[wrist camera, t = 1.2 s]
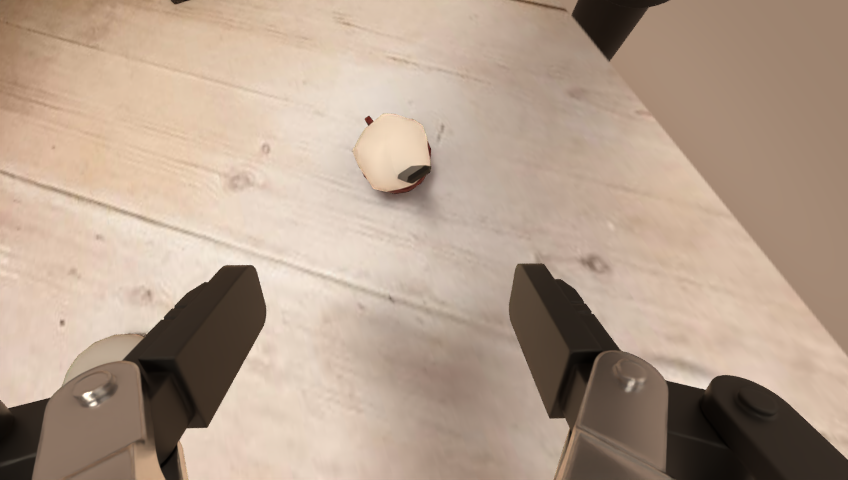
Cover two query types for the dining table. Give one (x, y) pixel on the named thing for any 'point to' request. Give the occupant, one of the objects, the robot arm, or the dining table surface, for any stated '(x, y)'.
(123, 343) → the donut
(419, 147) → the cocoa
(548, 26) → the dining table surface
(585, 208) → the dining table surface
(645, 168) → the dining table surface
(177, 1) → the scale
